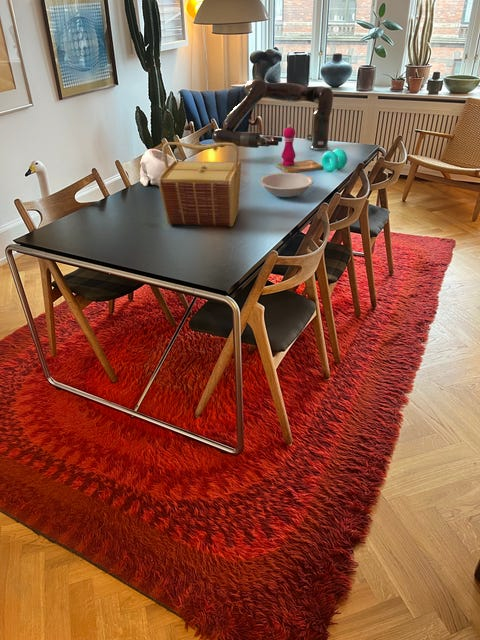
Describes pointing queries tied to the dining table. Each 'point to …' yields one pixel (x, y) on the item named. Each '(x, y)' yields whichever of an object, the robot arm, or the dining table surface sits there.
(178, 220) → the picnic basket
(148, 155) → the skull planter
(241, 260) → the dining table surface
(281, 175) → the soup bowl
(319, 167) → the oak board
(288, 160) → the pepper mill
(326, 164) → the turquoise spool
